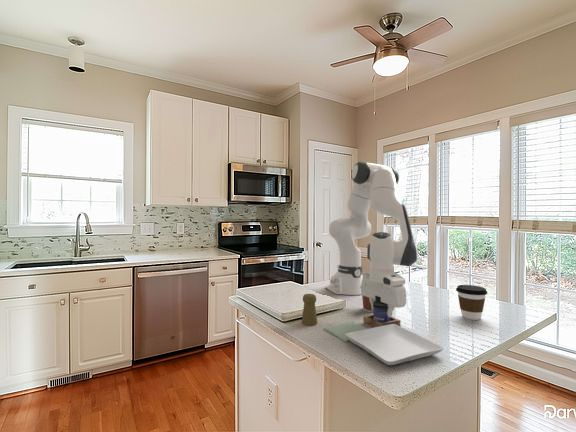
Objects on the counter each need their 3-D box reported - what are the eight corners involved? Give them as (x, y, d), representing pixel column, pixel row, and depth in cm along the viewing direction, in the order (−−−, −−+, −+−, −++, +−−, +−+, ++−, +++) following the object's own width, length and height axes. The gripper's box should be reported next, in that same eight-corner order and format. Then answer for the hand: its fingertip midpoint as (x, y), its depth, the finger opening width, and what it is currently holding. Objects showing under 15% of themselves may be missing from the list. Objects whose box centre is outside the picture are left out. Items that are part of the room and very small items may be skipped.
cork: (308, 319, 123) (308, 291, 123) (320, 323, 119) (320, 294, 118) (298, 323, 119) (298, 294, 118) (310, 327, 114) (310, 297, 114)
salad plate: (388, 373, 82) (388, 360, 82) (343, 342, 101) (343, 332, 101) (446, 358, 90) (446, 347, 90) (394, 332, 110) (394, 323, 110)
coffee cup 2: (452, 317, 124) (452, 287, 124) (459, 311, 132) (460, 283, 132) (484, 324, 117) (484, 292, 117) (490, 317, 125) (490, 287, 125)
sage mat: (323, 328, 113) (323, 327, 113) (352, 323, 118) (352, 321, 118) (345, 342, 101) (345, 340, 101) (376, 335, 107) (376, 333, 107)
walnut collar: (363, 322, 118) (363, 316, 118) (382, 319, 123) (382, 312, 123) (381, 331, 110) (381, 324, 110) (400, 326, 114) (400, 320, 114)
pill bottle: (391, 328, 113) (391, 298, 113) (373, 327, 114) (373, 297, 114) (389, 322, 119) (389, 293, 119) (372, 321, 120) (372, 293, 120)
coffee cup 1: (373, 314, 128) (373, 285, 128) (355, 309, 135) (355, 281, 135) (385, 309, 134) (385, 282, 134) (367, 305, 141) (367, 278, 141)
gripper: (357, 272, 124) (357, 306, 124) (395, 282, 106) (395, 322, 106) (369, 270, 127) (369, 304, 127) (409, 280, 109) (409, 319, 109)
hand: (381, 312), depth 116 cm, fingers closed on pill bottle, 6 cm apart
